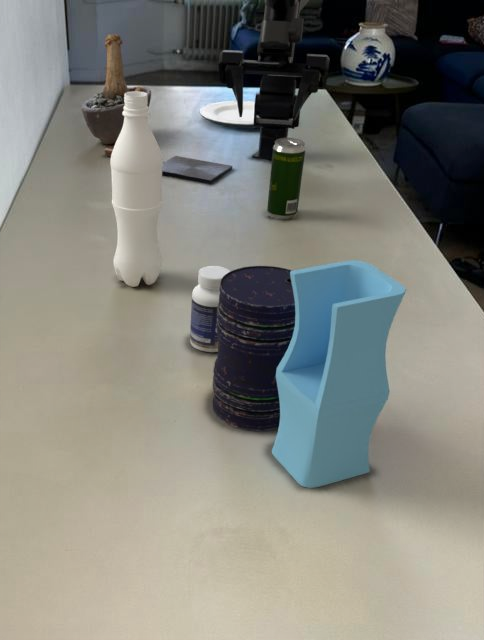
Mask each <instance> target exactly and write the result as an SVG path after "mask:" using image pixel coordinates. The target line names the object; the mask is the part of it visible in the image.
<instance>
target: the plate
mask: <svg viewBox="0 0 484 640" xmlns="http://www.w3.org/2000/svg"><path fill="white" fill-rule="evenodd" d="M254 105H255V100H243V113H242V117H239V112H238V106H237V101H236V100H225V101H216V102H211V103H208V104H206V105H203V107H201V108H200V109H199V114H200V116H201V117H202V118H204V119H205V120H207V121H210V122H211V123H214V124H216V125H218V126H222V127H227V128H234V129H259V128H261V126H253V125H254Z"/></svg>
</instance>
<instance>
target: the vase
mask: <svg viewBox="0 0 484 640" xmlns="http://www.w3.org/2000/svg"><path fill="white" fill-rule="evenodd" d="M290 276H291V282H292V287H293V293H294V300H295V312H296V315H295V328H294V332H293V336H292V339H291V342H290V344H289V347H288V349H287V351H286V353H285V355H284V357H283V358H282V360H281V362H280V364H279V365H278V367H277V370H276V381H277V387H278V393H279V401H280V422H279V428H277V433H276V438H275V440H274V444H273V446H272V449H271V454H272V456H273V457H274V458H275V459H276V460H277V461H278V463H279V464H280V465H281V466H282V467H283V468H284V469H285V470H286V471H287V473H288V474H289V475H290V476H291V477H292V478H293V479H294V480H295V482H297V484H298V485H300V486H301V487H303V488H307V489H308V488H309V489H314V488H320V487H324V486H327V485H330V484H333V483H334V484H335V483H337V482H340V481H344V480H348V479H352V478H355V477H359V476H361V475H365V474H369V473H370V471H371V470H370V459H369V455H370V454H369V450H370V439H371V435H372V432H373V429H374V426H375V424H376V423H377V420H378V417H379V416H380V414H381V412H382V410H383V408H384V407H385V405H386V403H387V401H388V400H389V395H390V383H389V380H388V372H387V364H386V363H387V359H386V354H387V353H386V352H387V343H388V337H389V334H390V330H391V327H392V324H393V322H394V319H395V316H396V314H397V312H398V309H399V307H400V306H401V303H402V301H403V298H404V297H405V295H406V292H407V288H406V286H404V285H403V284H402V283H400V282H398V281H397V280H395V279H394V278H392V277H391V276H389V275H387V274H386V273H384V272H383V271H381V270H380V269H379V268H377V267H376V266H374V265H372V264H371V263H369V262H367V261H363V260H358V259H350V260H343V261H336V262H333V263H326V264H322V265H321V264H320V265H316V266H310V267H306V268H300V269H293V270H292V271H290Z"/></svg>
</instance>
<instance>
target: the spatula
mask: <svg viewBox="0 0 484 640" xmlns="http://www.w3.org/2000/svg"><path fill="white" fill-rule="evenodd" d="M113 148H114V146H112V145H106V146H105V148H104V155H105V156H106V157H109V158H111V154H112V151H113ZM232 171H233V165H231V164H223V163H217V162H212V161H207V160H203V159H202V160H201V159H196V158H191V157H185V156H178V155H175V156H173V157H171V158H169V159H167V160H166V161H163V166H162V176H165V177H171V178H176V179H181V180H185V181H192V182H197V183H201V184H208V185H212V184H213V183H214V182H216V181H218V180H219V179H221V178H222V177H224V176H225V175H227V174H228V173H230V172H232Z"/></svg>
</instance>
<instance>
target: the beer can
mask: <svg viewBox="0 0 484 640" xmlns="http://www.w3.org/2000/svg"><path fill="white" fill-rule="evenodd" d="M305 144H306V143H305V140H302V139H300V138H297V137H287V138H280V139H277V140H276V141H275V145H274V147H273V155H272V161H271V166H270V177H269V187H268V195H267V196H268V197H267V204H266V205H267V206H266V212H267V215H268V216H269V217H270V218H272V219H276V220H291V219H294V218H295V217H296V215H297V214H298V212H299V211H298V210H299V204H300V203H299V202H300V195H301V187H302V179H303V170H304V165H305V164H304V162H305V154H306V147H305Z"/></svg>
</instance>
